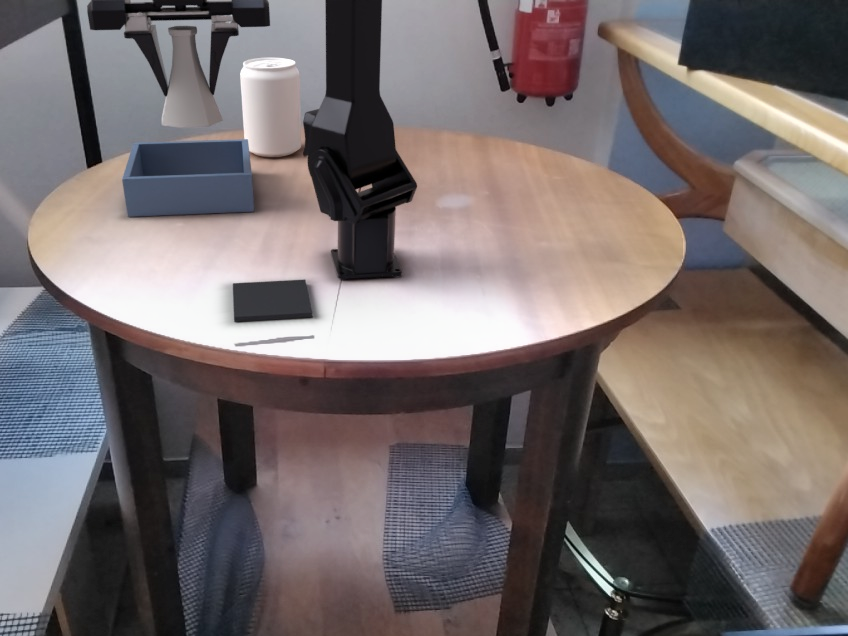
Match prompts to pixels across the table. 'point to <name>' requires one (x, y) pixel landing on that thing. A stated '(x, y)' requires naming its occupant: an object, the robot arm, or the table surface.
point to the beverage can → (271, 106)
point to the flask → (188, 85)
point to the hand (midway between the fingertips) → (189, 95)
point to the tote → (188, 178)
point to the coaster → (271, 300)
